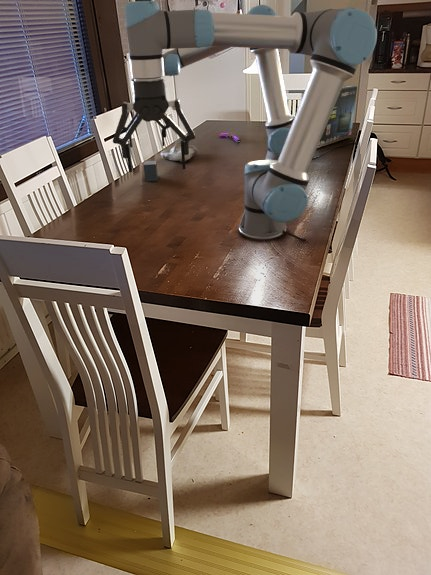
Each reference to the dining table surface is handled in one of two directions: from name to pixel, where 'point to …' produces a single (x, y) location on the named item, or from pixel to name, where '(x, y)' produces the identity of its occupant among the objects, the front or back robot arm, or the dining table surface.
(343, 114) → the router box
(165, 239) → the dining table surface
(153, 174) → the brick
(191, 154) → the fossil
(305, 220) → the dining table surface
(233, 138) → the handgun
